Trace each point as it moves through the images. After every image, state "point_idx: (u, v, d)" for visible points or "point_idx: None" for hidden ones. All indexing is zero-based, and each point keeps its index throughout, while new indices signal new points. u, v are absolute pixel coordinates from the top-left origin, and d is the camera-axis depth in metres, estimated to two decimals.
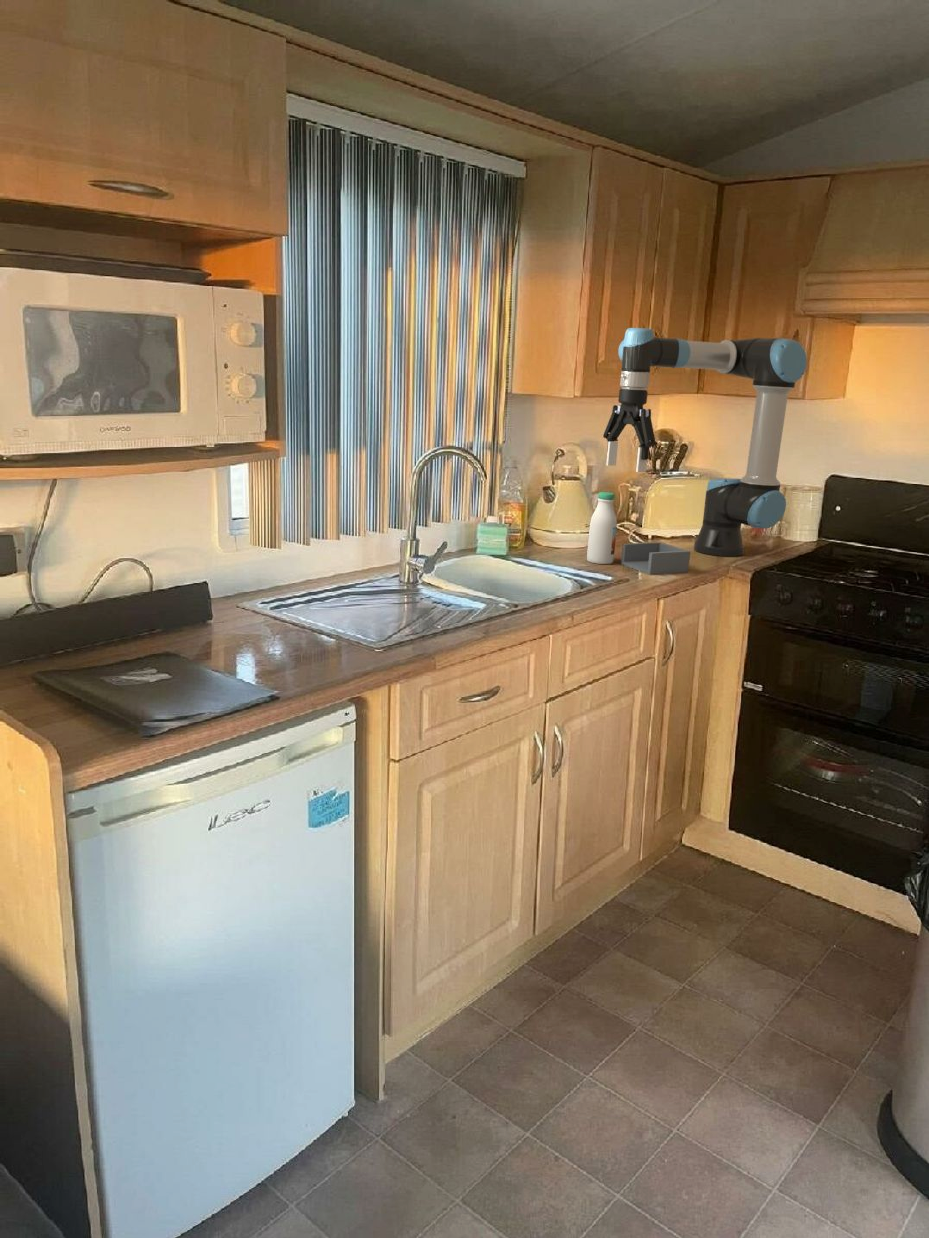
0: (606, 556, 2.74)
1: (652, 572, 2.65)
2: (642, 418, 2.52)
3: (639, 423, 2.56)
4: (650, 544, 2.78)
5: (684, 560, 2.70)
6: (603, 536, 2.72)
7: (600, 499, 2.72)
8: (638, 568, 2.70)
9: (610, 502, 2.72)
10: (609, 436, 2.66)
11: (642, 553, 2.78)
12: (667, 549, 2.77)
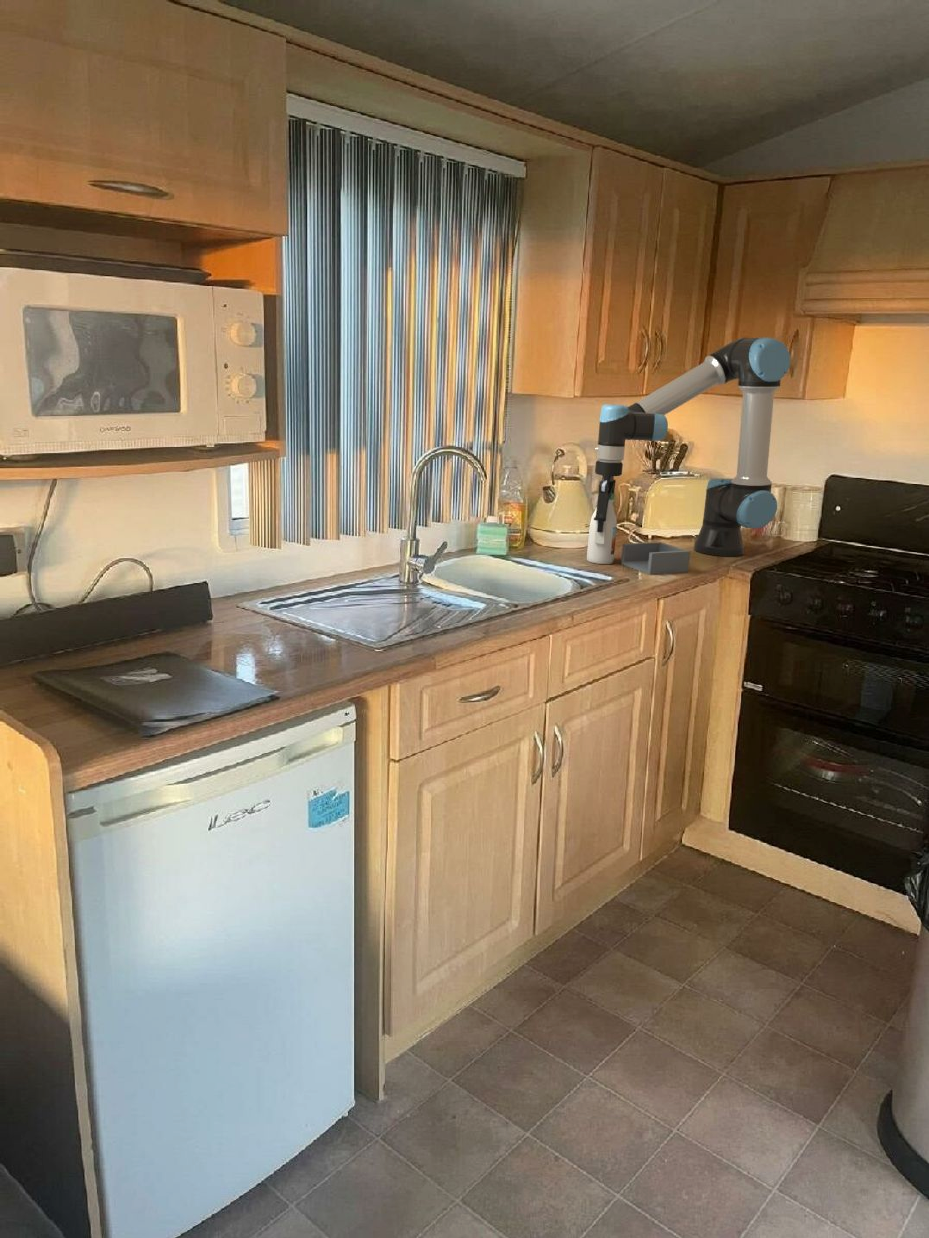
0: (606, 556, 2.74)
1: (652, 572, 2.65)
2: None
3: None
4: (650, 544, 2.78)
5: (684, 560, 2.70)
6: None
7: None
8: (638, 568, 2.70)
9: (610, 502, 2.72)
10: None
11: (642, 553, 2.78)
12: (667, 549, 2.77)
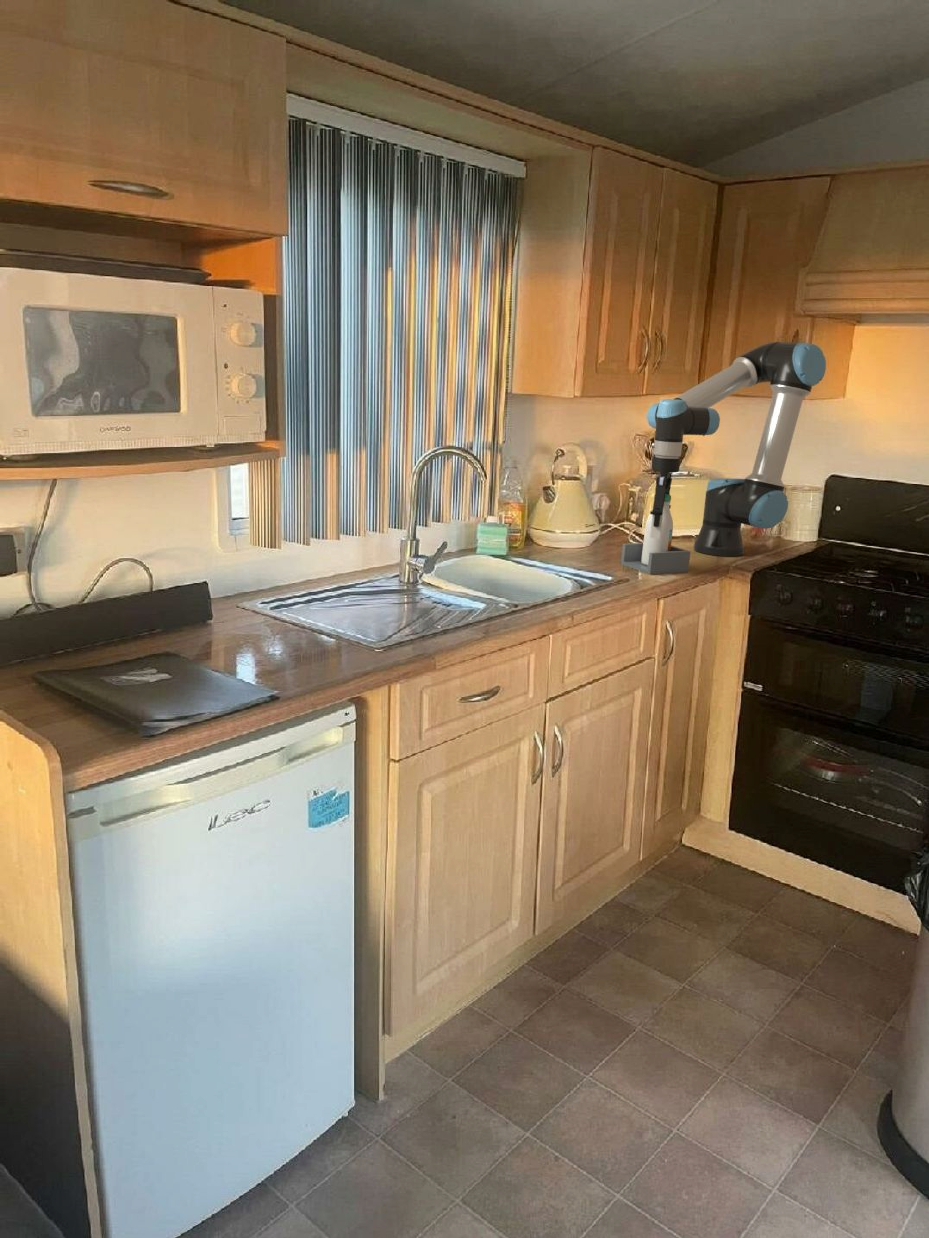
0: None
1: (652, 572, 2.65)
2: (656, 486, 2.62)
3: None
4: None
5: (684, 560, 2.70)
6: (660, 539, 2.68)
7: None
8: (638, 568, 2.70)
9: (667, 504, 2.67)
10: None
11: None
12: None
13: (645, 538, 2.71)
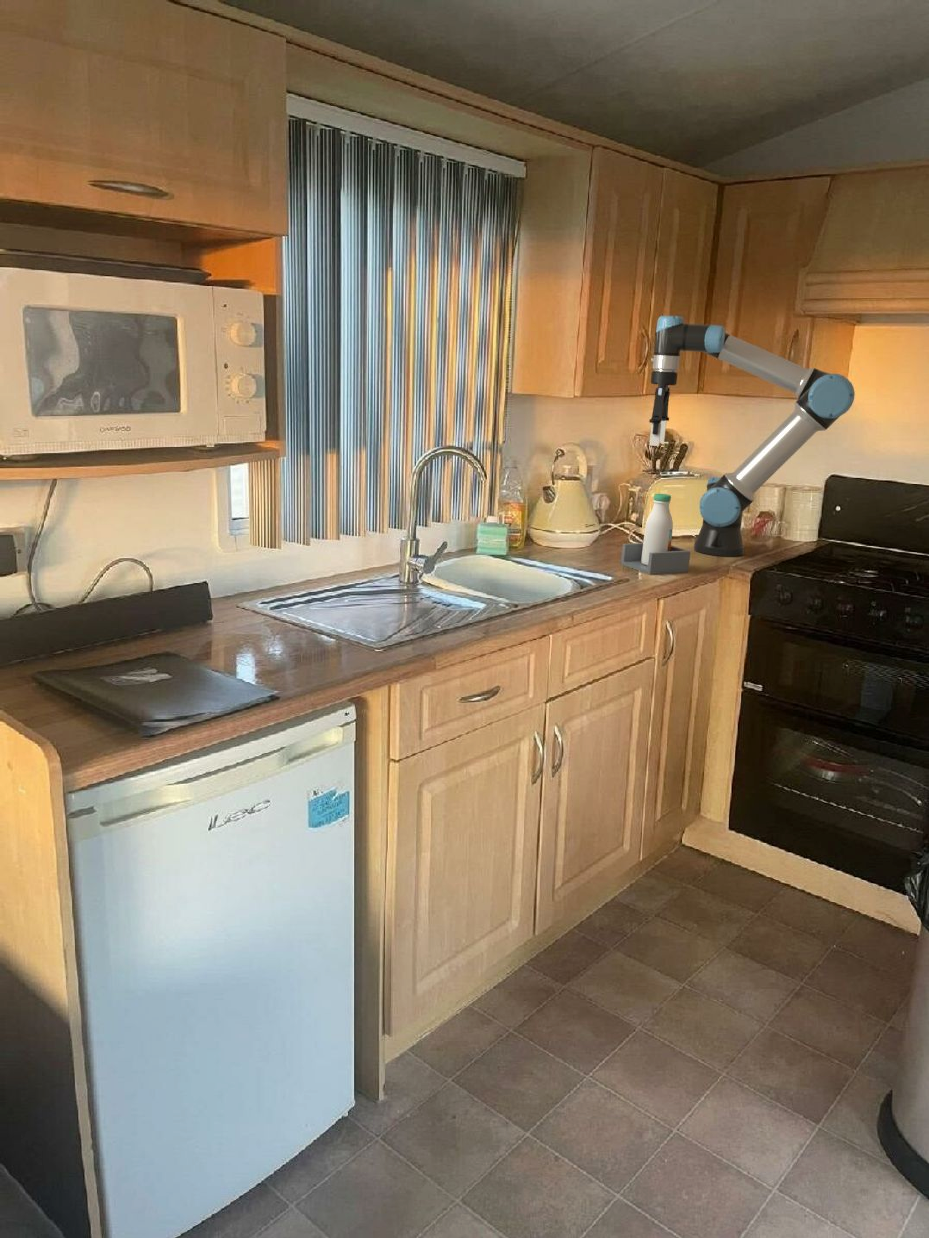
0: None
1: (652, 572, 2.65)
2: (655, 396, 2.79)
3: None
4: None
5: (684, 560, 2.70)
6: (660, 539, 2.68)
7: (656, 501, 2.68)
8: (638, 568, 2.70)
9: (666, 504, 2.67)
10: None
11: None
12: None
13: (645, 538, 2.71)
